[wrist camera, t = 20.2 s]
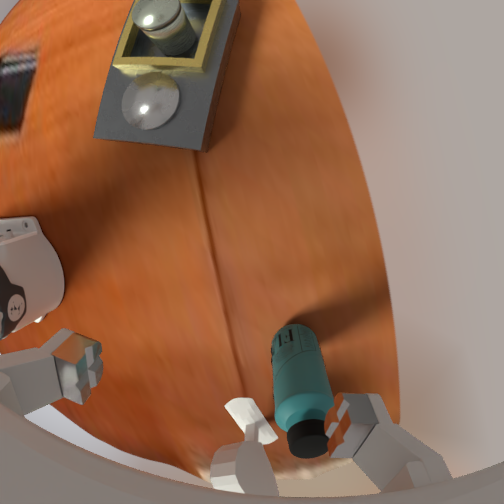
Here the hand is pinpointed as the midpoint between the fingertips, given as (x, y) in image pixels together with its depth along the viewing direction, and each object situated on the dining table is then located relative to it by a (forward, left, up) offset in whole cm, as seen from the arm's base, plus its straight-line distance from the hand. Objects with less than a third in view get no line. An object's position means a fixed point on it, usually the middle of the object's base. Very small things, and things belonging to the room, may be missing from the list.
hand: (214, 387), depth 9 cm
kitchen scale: (-14, +18, -29) cm, 37 cm away
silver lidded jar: (-14, +22, -28) cm, 38 cm away
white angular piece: (+7, -33, -29) cm, 45 cm away
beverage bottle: (+9, -14, -29) cm, 34 cm away
